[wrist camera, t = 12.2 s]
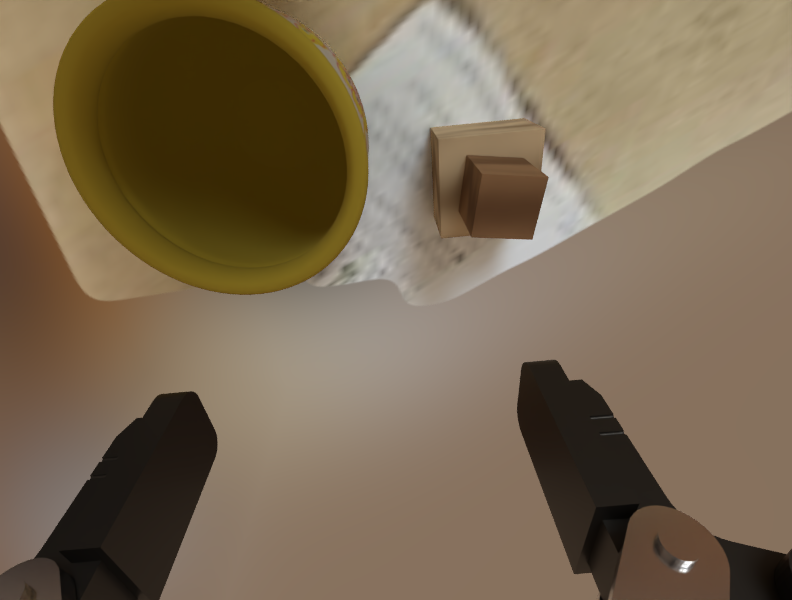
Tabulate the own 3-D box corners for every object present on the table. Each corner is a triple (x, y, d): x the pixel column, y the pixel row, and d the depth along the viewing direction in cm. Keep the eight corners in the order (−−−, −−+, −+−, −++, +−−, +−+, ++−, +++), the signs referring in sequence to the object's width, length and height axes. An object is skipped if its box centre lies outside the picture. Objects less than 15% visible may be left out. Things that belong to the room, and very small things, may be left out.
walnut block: (466, 154, 34) (482, 173, 29) (523, 157, 35) (548, 177, 30) (458, 210, 37) (471, 237, 32) (511, 213, 37) (532, 239, 32)
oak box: (430, 127, 39) (438, 139, 34) (523, 117, 39) (545, 128, 34) (433, 215, 44) (441, 238, 38) (516, 207, 43) (534, 229, 38)
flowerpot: (155, 162, 39) (34, 225, 25) (207, -46, 31) (72, -119, 17) (324, 243, 45) (300, 332, 31) (406, 84, 36) (423, 107, 23)
